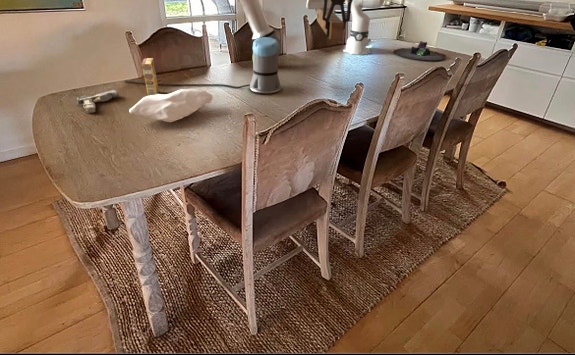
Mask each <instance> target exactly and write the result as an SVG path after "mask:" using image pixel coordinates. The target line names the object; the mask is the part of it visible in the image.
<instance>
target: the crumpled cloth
mask: <svg viewBox="0 0 575 355" xmlns="http://www.w3.org/2000/svg"><path fill="white" fill-rule="evenodd" d="M213 97H214V96H213V94H212V93H210V92H208V91H206V90H203V89H201V88H187V89H186V88H185V89H184V88H183V89H177V90H175V91H173V92H171V93H167V94H163V93H158V94H156V95H150V96H148V95H146V96H144V97H142V98H141V99H140V100H139V101H138V102H137V103H136V104H134V105H133V106H132V107H131V108H129V114H130V115H135V116H140V117H145V118H146V119H149V120H152V121H155V120H158V121H163V122H166V123H174V122H176V121H178V120H181V119H183V118H185V117H188V116H190V115H192V114H193V113H195V112H196V111H197V110H199V109H200V108H202V107H204V106H206V105H207V104H210V102H211V101H212V100H213V99H214V98H213Z"/></svg>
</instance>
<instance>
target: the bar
mask: <svg viewBox="0 0 575 355" xmlns="http://www.w3.org/2000/svg"><path fill="white" fill-rule="evenodd" d="M328 11H329V9H326V16H325V18H326V17H327V14H328ZM317 14H319V18H316V22H317V23H318V25H319V26H320V28H321V29H322V30H323V32H324V34H326V33H327V29H325V21H324V20H323V19H322V14H323V8H320V9H318V10H317ZM329 22H330V28H329V37H327V38H328V39H329V41H340V42H341V41H343V34H344V30H343V27H344V22H343V21H342V18H339V16H338V15H337V14H336V13H335V11H334V12H333V11H332V14H331V16H330V19H329Z"/></svg>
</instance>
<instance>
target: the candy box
mask: <svg viewBox="0 0 575 355" xmlns="http://www.w3.org/2000/svg"><path fill="white" fill-rule="evenodd" d="M141 66H142V73H143V78H144V82H145V83H146V84H145V87H146V92H147V96H150V95H156V94H159V91H160V90H159V85H158V84H157V83H158V79H157V73H156V66H155V62H154V58H153V57H151V58H150V57H149V58H146V57H145V58H143V60H142V63H141Z"/></svg>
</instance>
